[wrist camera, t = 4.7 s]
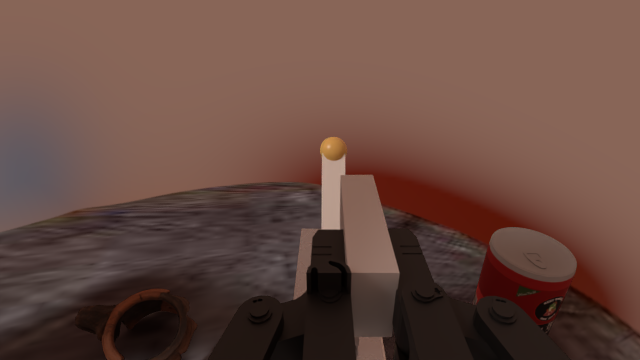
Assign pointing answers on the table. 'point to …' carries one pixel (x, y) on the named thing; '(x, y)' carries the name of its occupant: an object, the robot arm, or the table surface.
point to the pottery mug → (131, 312)
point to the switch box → (369, 349)
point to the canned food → (527, 273)
